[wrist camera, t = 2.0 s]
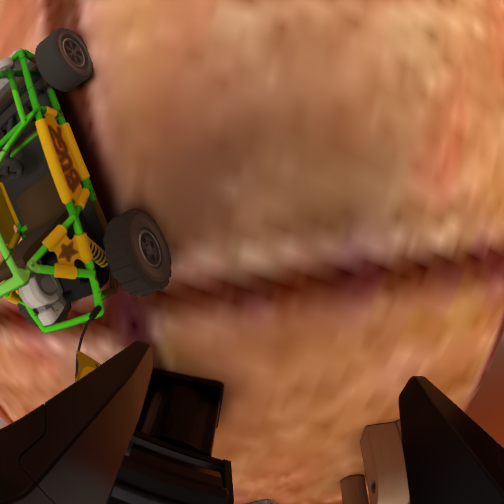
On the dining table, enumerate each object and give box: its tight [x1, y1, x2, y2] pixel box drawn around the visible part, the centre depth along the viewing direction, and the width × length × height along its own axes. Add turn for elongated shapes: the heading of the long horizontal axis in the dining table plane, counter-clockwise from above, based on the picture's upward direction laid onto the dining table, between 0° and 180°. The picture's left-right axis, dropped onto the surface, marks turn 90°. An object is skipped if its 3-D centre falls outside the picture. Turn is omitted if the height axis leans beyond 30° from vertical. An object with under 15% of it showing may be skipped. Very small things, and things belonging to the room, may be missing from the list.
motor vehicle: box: [0, 28, 171, 382], centre depth 14 cm, size 12×19×11 cm, turn 21°
